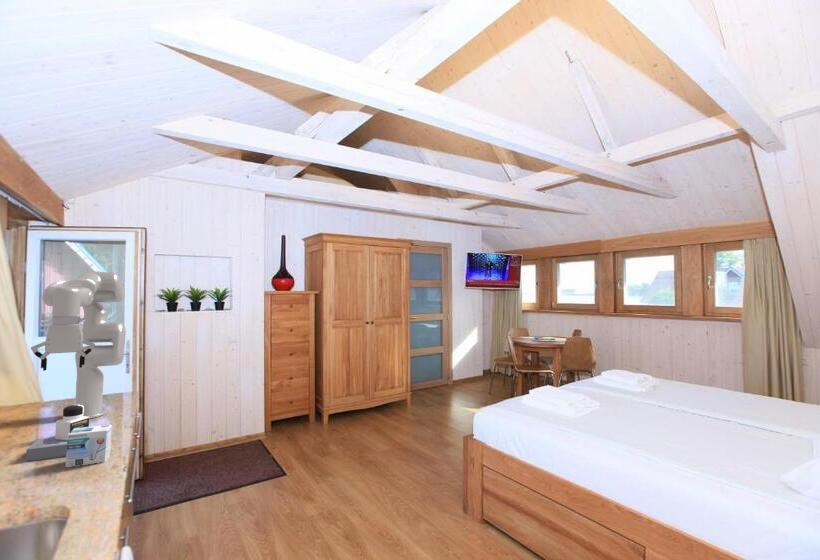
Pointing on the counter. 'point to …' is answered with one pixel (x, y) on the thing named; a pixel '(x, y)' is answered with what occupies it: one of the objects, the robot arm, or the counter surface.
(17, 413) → the counter surface
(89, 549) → the counter surface
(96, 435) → the light bulb box
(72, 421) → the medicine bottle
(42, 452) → the bracket
